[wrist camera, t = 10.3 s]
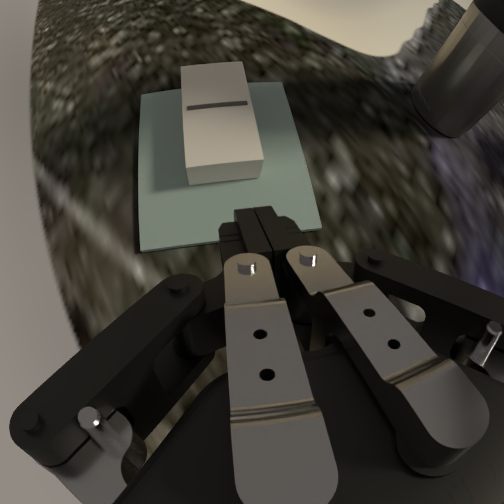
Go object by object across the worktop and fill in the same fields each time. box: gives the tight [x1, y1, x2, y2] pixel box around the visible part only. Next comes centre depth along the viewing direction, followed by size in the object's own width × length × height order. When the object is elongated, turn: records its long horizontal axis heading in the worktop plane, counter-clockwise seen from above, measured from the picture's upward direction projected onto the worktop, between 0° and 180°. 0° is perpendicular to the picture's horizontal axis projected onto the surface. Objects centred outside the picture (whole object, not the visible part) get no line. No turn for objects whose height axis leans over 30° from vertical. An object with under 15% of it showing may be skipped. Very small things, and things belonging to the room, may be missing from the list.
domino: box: [181, 62, 264, 185], centre depth 26 cm, size 6×3×12 cm
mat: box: [138, 82, 322, 253], centre depth 27 cm, size 15×17×1 cm
